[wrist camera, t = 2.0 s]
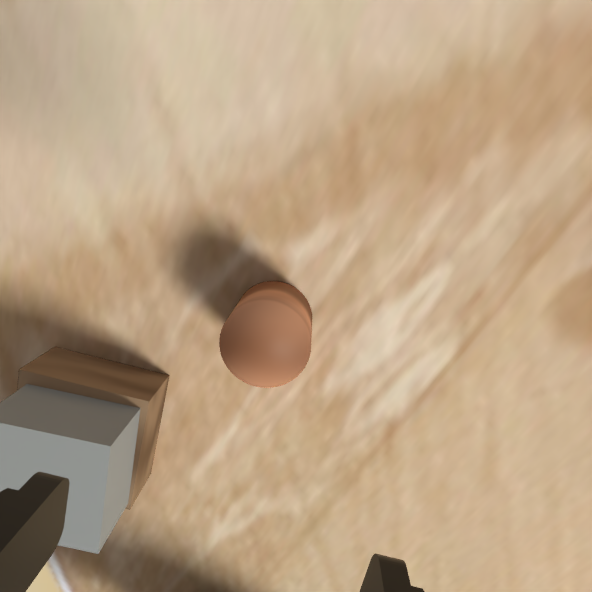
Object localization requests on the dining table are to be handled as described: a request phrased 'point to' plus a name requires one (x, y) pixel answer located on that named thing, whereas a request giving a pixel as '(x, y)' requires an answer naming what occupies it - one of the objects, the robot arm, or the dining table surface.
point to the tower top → (72, 455)
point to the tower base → (107, 396)
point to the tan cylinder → (268, 335)
